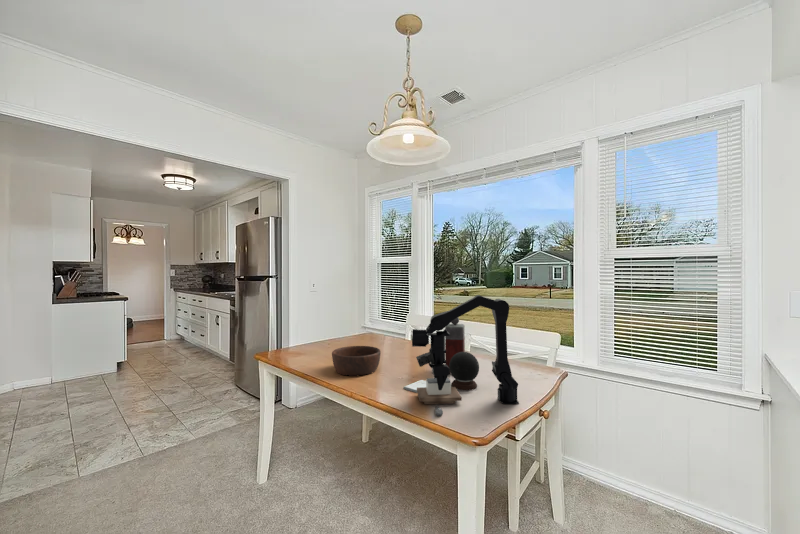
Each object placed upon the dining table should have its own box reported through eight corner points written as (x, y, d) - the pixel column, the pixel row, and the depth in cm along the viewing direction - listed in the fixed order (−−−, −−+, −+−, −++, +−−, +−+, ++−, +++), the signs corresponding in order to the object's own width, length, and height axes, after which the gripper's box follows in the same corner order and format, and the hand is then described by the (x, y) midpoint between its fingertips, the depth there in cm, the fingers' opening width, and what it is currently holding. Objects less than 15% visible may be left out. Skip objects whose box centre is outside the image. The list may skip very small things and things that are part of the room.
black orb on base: (452, 379, 162) (452, 347, 163) (481, 382, 158) (480, 349, 158) (446, 388, 150) (445, 354, 150) (477, 392, 145) (476, 356, 146)
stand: (455, 394, 144) (455, 386, 144) (461, 405, 132) (461, 397, 132) (416, 394, 143) (416, 387, 143) (419, 406, 131) (419, 398, 131)
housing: (428, 395, 135) (428, 382, 135) (426, 390, 140) (426, 378, 140) (451, 394, 135) (450, 381, 135) (448, 389, 140) (448, 377, 140)
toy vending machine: (465, 367, 182) (464, 314, 182) (463, 373, 171) (463, 317, 172) (448, 366, 184) (447, 314, 185) (445, 372, 174) (445, 316, 174)
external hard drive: (403, 390, 151) (420, 382, 160) (418, 394, 145) (435, 386, 155) (403, 386, 151) (420, 379, 160) (418, 390, 145) (435, 382, 155)
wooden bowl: (390, 370, 179) (390, 350, 179) (352, 381, 161) (352, 359, 161) (359, 361, 197) (359, 343, 197) (322, 371, 178) (322, 351, 179)
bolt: (433, 409, 128) (433, 402, 128) (440, 409, 128) (440, 402, 128) (435, 416, 122) (435, 409, 122) (442, 416, 122) (442, 408, 122)
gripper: (415, 342, 147) (416, 379, 146) (419, 352, 128) (420, 395, 128) (441, 341, 147) (442, 378, 147) (449, 352, 128) (450, 394, 128)
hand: (438, 386), depth 137 cm, fingers open, 9 cm apart
